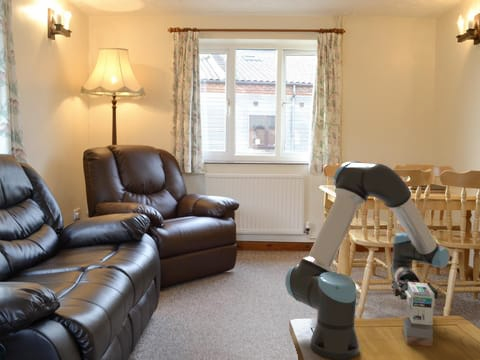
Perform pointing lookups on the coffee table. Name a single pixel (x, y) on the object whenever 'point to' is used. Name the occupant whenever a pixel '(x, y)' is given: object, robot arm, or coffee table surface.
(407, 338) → the walnut base block
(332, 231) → the robot arm
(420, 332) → the grey square tile
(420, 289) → the light bulb box
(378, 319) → the coffee table surface
